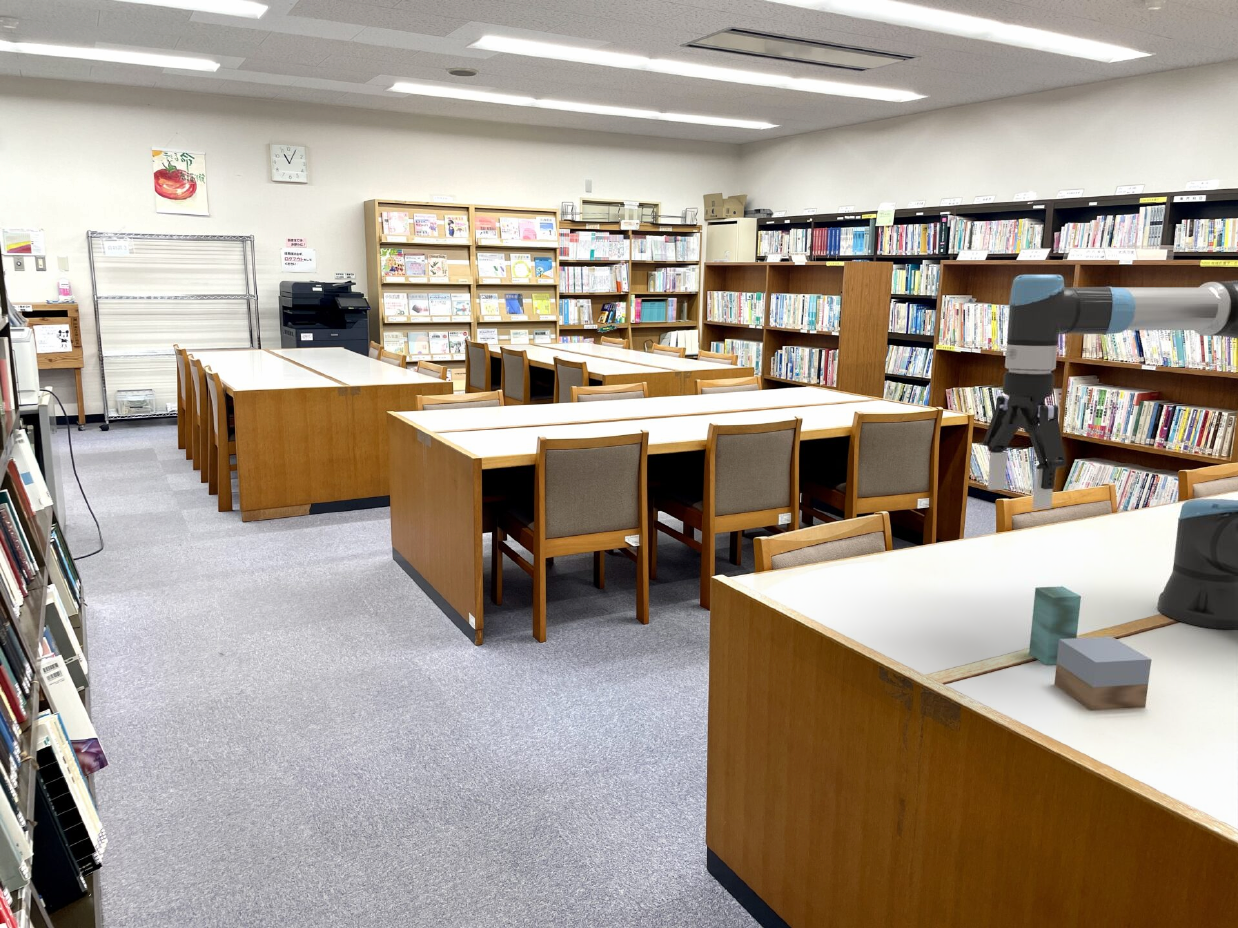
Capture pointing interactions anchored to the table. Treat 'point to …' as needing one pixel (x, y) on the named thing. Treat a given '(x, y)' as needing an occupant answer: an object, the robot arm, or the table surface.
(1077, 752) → the table surface
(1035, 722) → the table surface
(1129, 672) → the tower top
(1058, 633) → the tall block
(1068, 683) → the tower bottom
